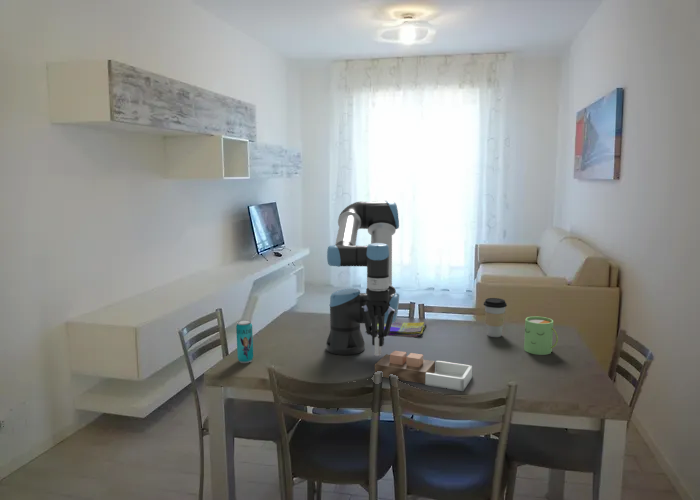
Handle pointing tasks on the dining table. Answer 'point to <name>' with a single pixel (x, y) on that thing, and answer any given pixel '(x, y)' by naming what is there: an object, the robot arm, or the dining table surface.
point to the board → (405, 370)
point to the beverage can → (244, 341)
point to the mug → (539, 335)
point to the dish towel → (405, 329)
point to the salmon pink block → (398, 357)
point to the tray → (450, 376)
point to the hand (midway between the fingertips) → (378, 354)
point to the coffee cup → (494, 316)
